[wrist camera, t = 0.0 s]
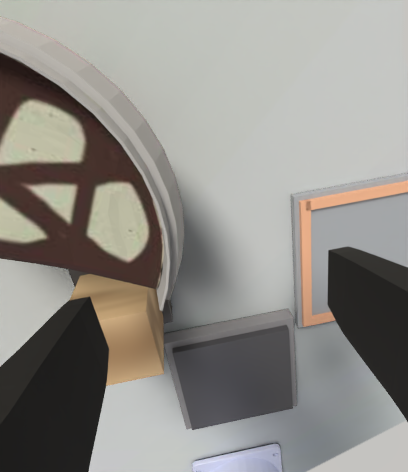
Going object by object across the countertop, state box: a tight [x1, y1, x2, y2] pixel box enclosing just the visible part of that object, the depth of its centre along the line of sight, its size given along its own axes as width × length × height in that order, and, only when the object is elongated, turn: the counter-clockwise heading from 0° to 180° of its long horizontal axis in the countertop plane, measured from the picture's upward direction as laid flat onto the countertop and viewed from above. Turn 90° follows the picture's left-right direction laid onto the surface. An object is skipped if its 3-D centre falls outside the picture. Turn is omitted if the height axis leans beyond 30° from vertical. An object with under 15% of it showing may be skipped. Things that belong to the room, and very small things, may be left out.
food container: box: [0, 17, 185, 311], centre depth 12 cm, size 12×6×10 cm, turn 70°
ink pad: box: [164, 309, 297, 430], centre depth 24 cm, size 9×9×2 cm
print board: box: [291, 173, 408, 328], centre depth 22 cm, size 10×10×1 cm
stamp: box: [69, 269, 173, 386], centre depth 18 cm, size 5×5×6 cm
